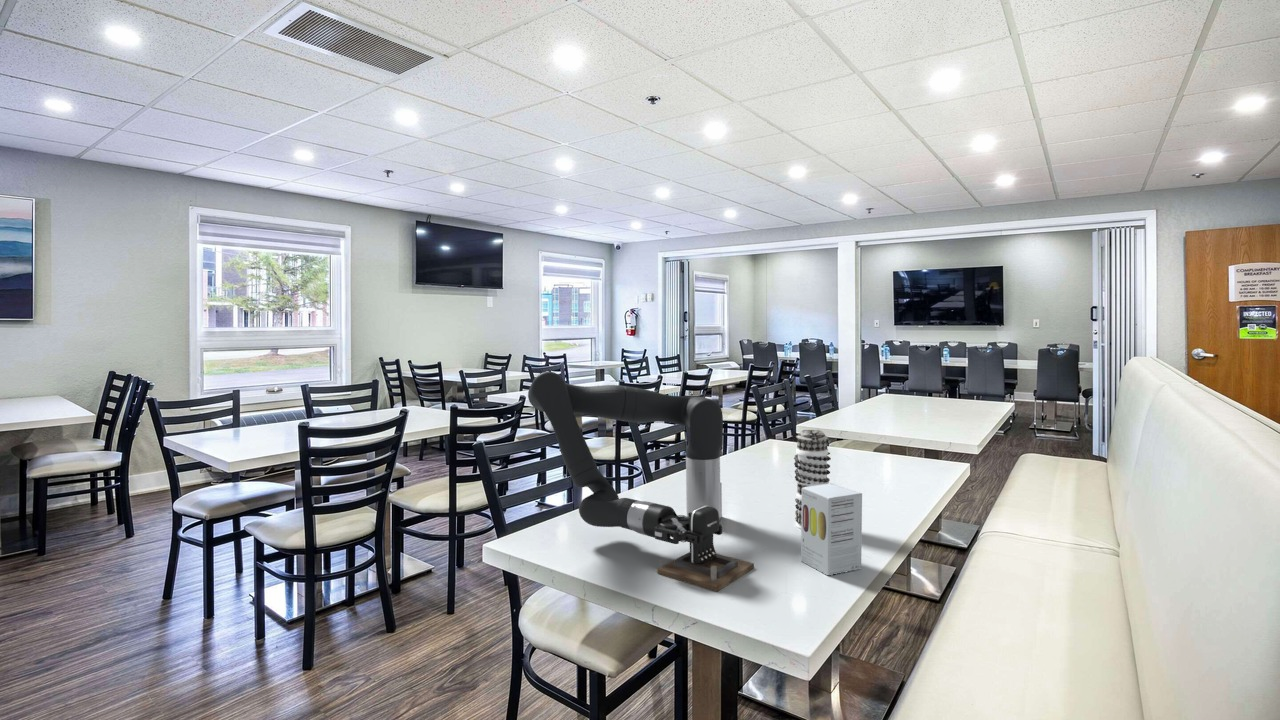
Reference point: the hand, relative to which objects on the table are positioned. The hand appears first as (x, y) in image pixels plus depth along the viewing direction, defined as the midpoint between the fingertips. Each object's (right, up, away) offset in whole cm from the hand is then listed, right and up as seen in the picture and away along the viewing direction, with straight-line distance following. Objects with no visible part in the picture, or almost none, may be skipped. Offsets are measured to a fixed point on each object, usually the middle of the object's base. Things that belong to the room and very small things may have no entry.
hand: (711, 534), depth 131 cm
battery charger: (-1, -6, +1) cm, 6 cm away
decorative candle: (+30, -6, +29) cm, 42 cm away
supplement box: (+27, -8, +3) cm, 28 cm away
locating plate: (-1, -8, +2) cm, 8 cm away
